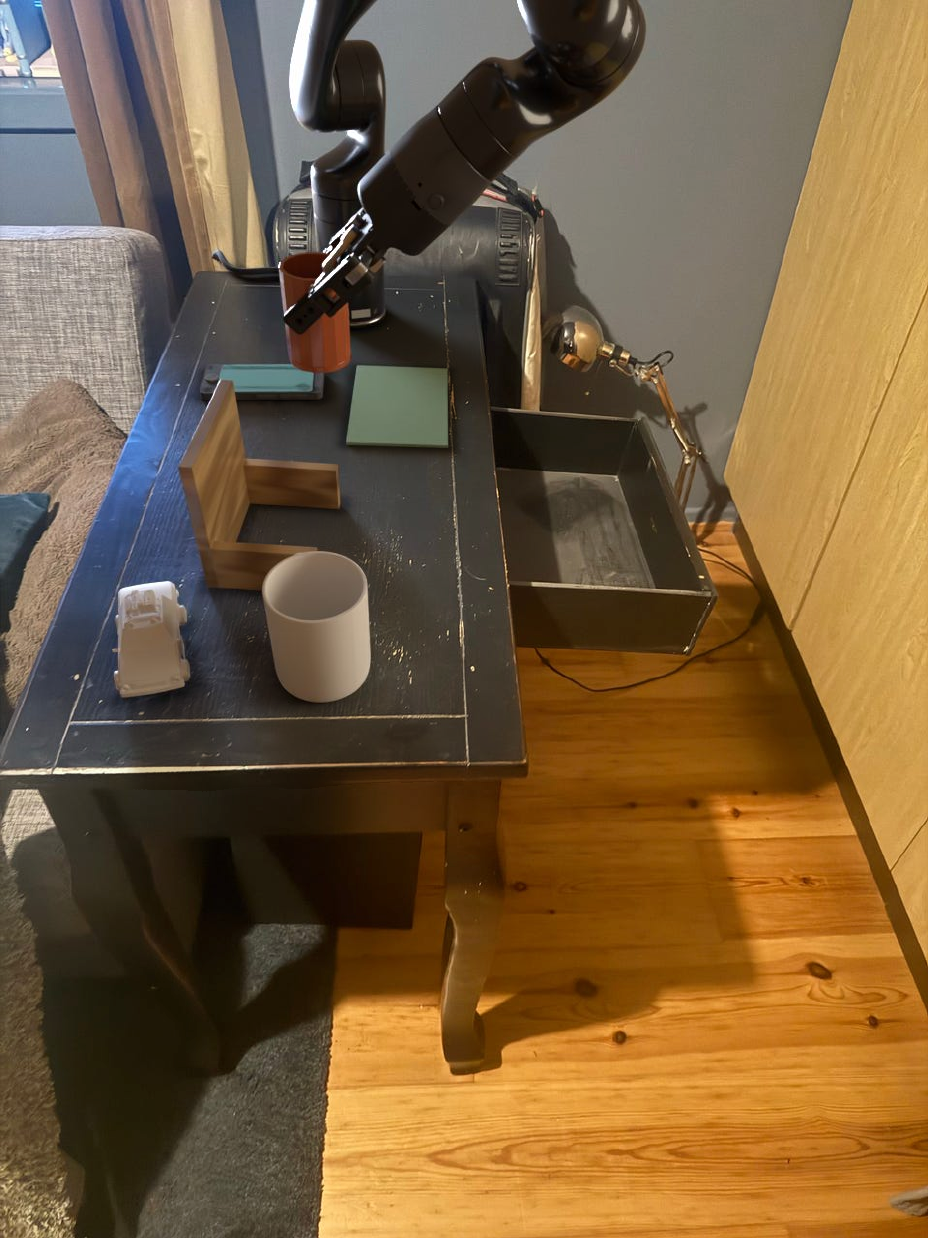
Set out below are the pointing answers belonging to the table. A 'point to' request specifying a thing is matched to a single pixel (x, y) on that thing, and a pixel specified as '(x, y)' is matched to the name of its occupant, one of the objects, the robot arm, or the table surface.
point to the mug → (318, 625)
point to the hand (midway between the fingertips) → (298, 308)
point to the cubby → (242, 495)
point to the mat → (399, 407)
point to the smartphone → (263, 382)
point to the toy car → (150, 640)
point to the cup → (327, 336)
